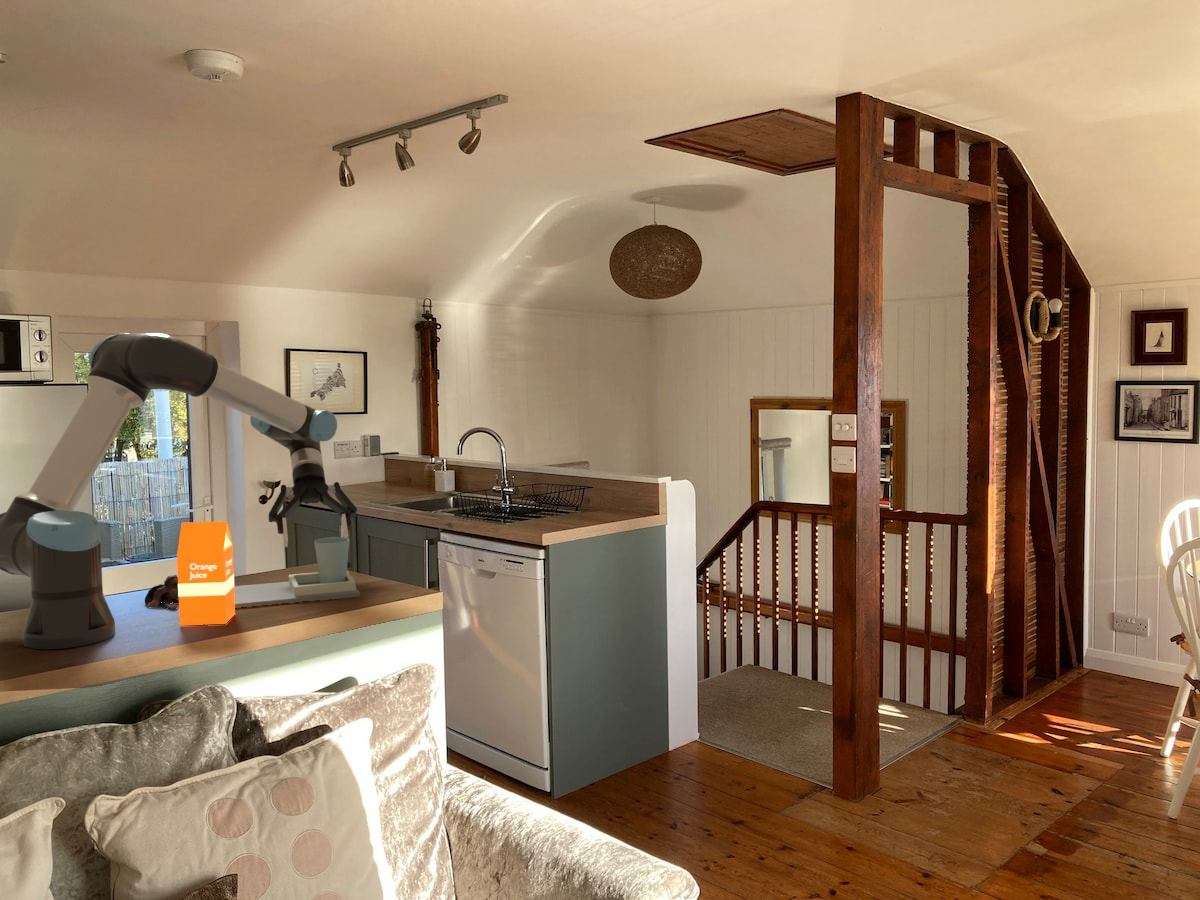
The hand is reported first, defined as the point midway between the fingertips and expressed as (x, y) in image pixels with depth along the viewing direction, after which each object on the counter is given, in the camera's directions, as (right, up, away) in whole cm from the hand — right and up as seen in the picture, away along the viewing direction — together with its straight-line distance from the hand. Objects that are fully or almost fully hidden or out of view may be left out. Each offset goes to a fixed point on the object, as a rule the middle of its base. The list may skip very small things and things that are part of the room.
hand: (316, 541), depth 221 cm
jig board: (-2, -11, -10) cm, 15 cm away
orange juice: (-12, -13, -32) cm, 36 cm away
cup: (+6, -9, -6) cm, 13 cm away
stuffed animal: (-26, -12, -17) cm, 33 cm away
